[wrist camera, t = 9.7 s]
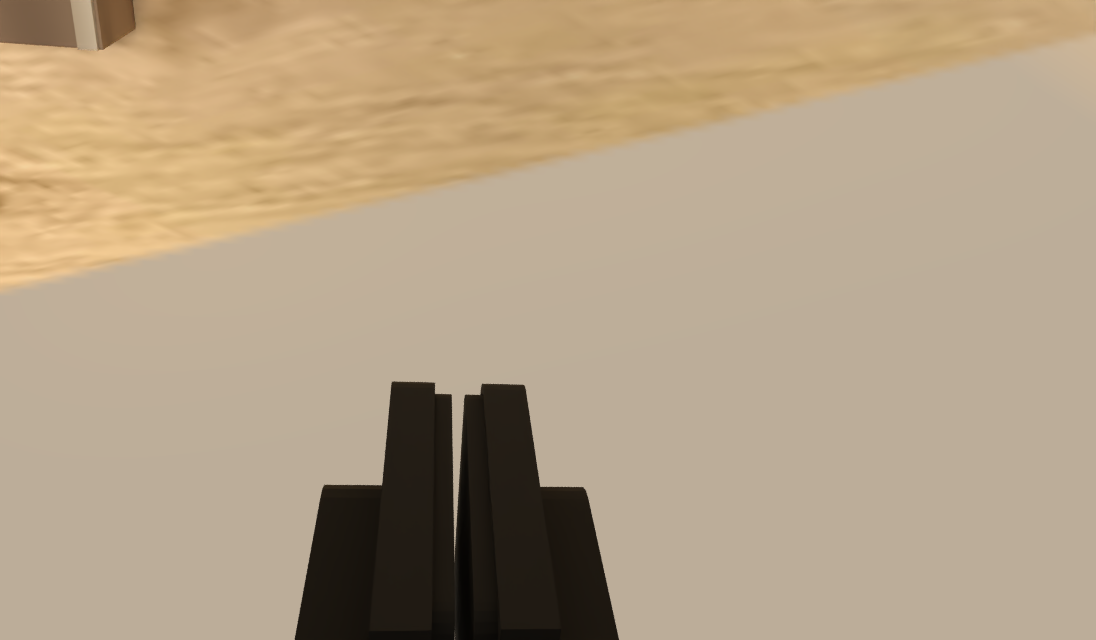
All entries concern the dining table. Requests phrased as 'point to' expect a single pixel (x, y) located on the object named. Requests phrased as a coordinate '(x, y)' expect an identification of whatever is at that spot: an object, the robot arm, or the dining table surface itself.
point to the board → (66, 22)
